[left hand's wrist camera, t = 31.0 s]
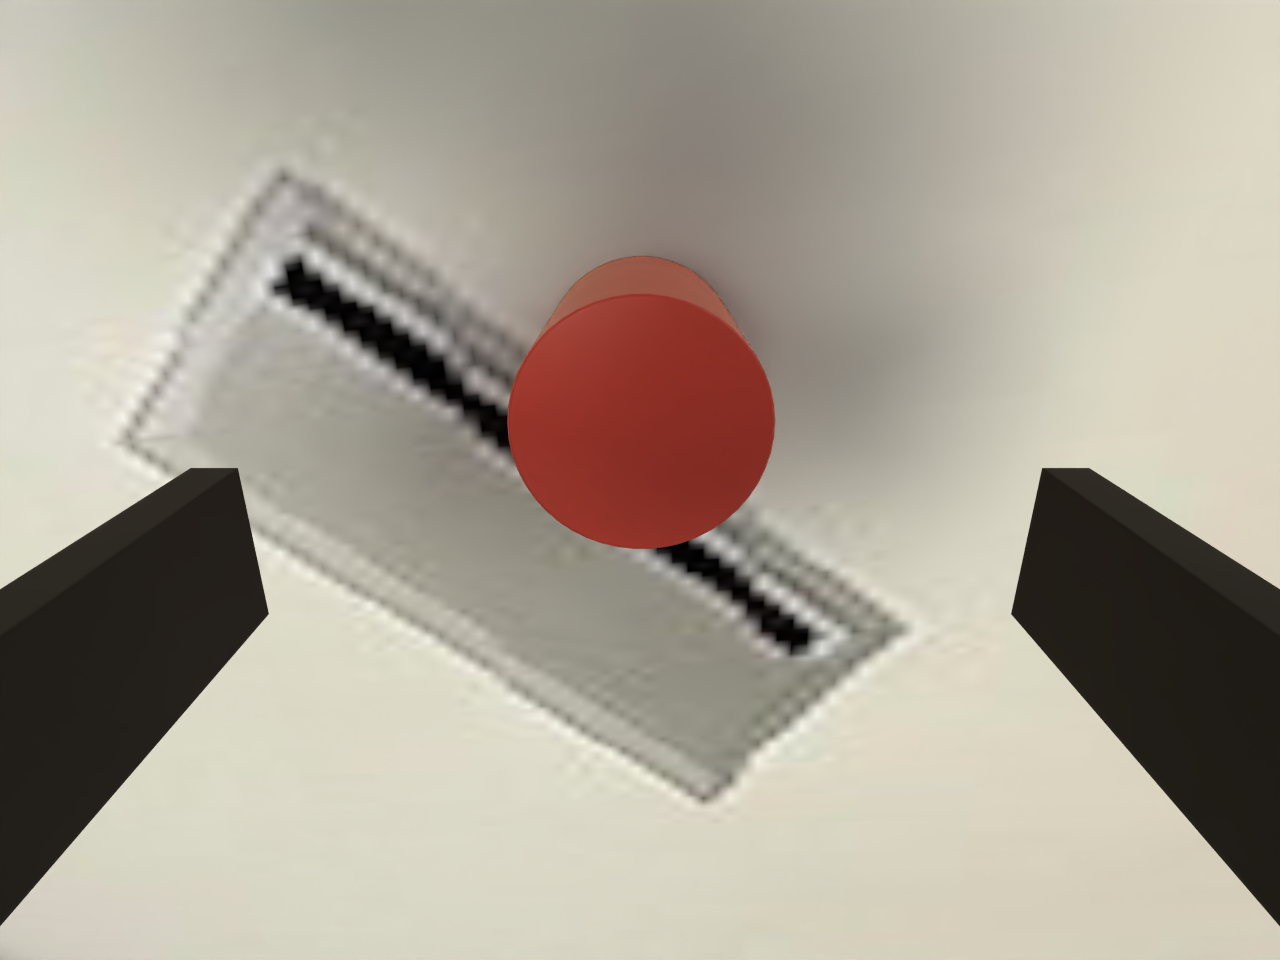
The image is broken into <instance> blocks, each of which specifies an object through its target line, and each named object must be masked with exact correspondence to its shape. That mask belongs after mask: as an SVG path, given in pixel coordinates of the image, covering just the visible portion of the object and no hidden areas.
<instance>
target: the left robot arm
mask: <svg viewBox="0 0 1280 960" xmlns="http://www.w3.org/2000/svg"><path fill="white" fill-rule="evenodd" d="M268 614H269V613H268V608H267V603H266V599H265V594H264V589H263V585H262V580H261V575H260V570H259V566H258V561H257V556H256V552H255V547H254V542H253V537H252V533H251V528H250V523H249V519H248V514H247V509H246V505H245V500H244V495H243V490H242V486H241V481H240V476H239V472H238V468H190V469H189V470H187V471H186V472H184V473H182V474H181V475H179V476H178V477H176V478H175V479H173V480H171V481H170V482H168V483H167V484H165V485H164V486H162V487H160V488H159V489H157V490H156V491H154V492H153V493H151V494H149V495H148V496H146V497H145V498H143V499H142V500H140V501H138V502H137V503H135V504H134V505H132V506H131V507H129V508H127V509H126V510H124V511H123V512H121V513H120V514H118V515H116V516H115V517H113V518H112V519H110V520H109V521H107V522H105V523H104V524H102V525H101V526H99V527H98V528H96V529H94V530H93V531H91V532H90V533H88V534H86V535H85V536H83V537H82V538H80V539H79V540H77V541H75V542H74V543H72V544H71V545H69V546H68V547H66V548H64V549H63V550H61V551H60V552H58V553H57V554H55V555H53V556H52V557H50V558H49V559H47V560H46V561H44V562H42V563H41V564H39V565H38V566H36V567H35V568H33V569H31V570H30V571H28V572H27V573H25V574H24V575H22V576H20V577H19V578H17V579H16V580H14V581H13V582H11V583H9V584H8V585H6V586H5V587H3V588H2V589H0V926H1V925H2V923H3V922H4V921H5V920H6V919H7V918H8V916H9V915H10V914H11V913H12V912H13V911H14V909H15V908H16V907H17V906H18V905H19V904H20V902H21V901H22V900H23V899H24V898H25V897H26V896H27V894H28V893H29V892H30V891H31V890H32V889H33V887H34V886H35V885H36V884H37V883H38V882H39V880H40V879H41V878H42V877H43V876H44V875H45V873H46V872H47V871H48V870H49V869H50V868H51V866H52V865H53V864H54V863H55V862H56V861H57V860H58V858H59V857H60V856H61V855H62V854H63V853H64V851H65V850H66V849H67V848H68V847H69V846H70V844H71V843H72V842H73V841H74V840H75V839H76V837H77V836H78V835H79V834H80V833H81V832H82V830H83V829H84V828H85V827H86V826H87V825H88V823H89V822H90V821H91V820H92V819H93V818H94V817H95V815H96V814H97V813H98V812H99V811H100V810H101V808H102V807H103V806H104V805H105V804H106V803H107V801H108V800H109V799H110V798H111V797H112V796H113V794H114V793H115V792H116V791H117V790H118V789H119V787H120V786H121V785H122V784H123V783H124V782H125V780H126V779H127V778H128V777H129V776H130V775H131V774H132V772H133V771H134V770H135V769H136V768H137V767H138V765H139V764H140V763H141V762H142V761H143V760H144V758H145V757H146V756H147V755H148V754H149V753H150V751H151V750H152V749H153V748H154V747H155V746H156V744H157V743H158V742H159V741H160V740H161V739H162V737H163V736H164V735H165V734H166V733H167V732H168V731H169V729H170V728H171V727H172V726H173V725H174V724H175V722H176V721H177V720H178V719H179V718H180V717H181V715H182V714H183V713H184V712H185V711H186V710H187V708H188V707H189V706H190V705H191V704H192V703H193V701H194V700H195V699H196V698H197V697H198V696H199V694H200V693H201V692H202V691H203V690H204V689H205V688H206V686H207V685H208V684H209V683H210V682H211V681H212V679H213V678H214V677H215V676H216V675H217V674H218V672H219V671H220V670H221V669H222V668H223V667H224V665H225V664H226V663H227V662H228V661H229V660H230V658H231V657H232V656H233V655H234V654H235V653H236V651H237V650H238V649H239V648H240V647H241V646H242V645H243V643H244V642H245V641H246V640H247V639H248V638H249V636H250V635H251V634H252V633H253V632H254V631H255V629H256V628H257V627H258V626H259V625H260V624H261V622H262V621H263V620H264V619H265V618H266V617H267V615H268ZM1011 614H1012V615H1013V617H1014V618H1015V619H1016V620H1017V621H1018V622H1019V624H1020V625H1021V626H1022V627H1023V628H1024V629H1025V631H1026V632H1027V633H1028V634H1029V635H1030V636H1031V638H1032V639H1033V640H1034V641H1035V642H1036V643H1037V645H1038V646H1039V647H1040V648H1041V649H1042V650H1043V651H1044V653H1045V654H1046V655H1047V656H1048V657H1049V658H1050V660H1051V661H1052V662H1053V663H1054V664H1055V665H1056V667H1057V668H1058V669H1059V670H1060V671H1061V672H1062V674H1063V675H1064V676H1065V677H1066V678H1067V679H1068V681H1069V682H1070V683H1071V684H1072V685H1073V686H1074V688H1075V689H1076V690H1077V691H1078V692H1079V693H1080V694H1081V696H1082V697H1083V698H1084V699H1085V700H1086V701H1087V703H1088V704H1089V705H1090V706H1091V707H1092V708H1093V710H1094V711H1095V712H1096V713H1097V714H1098V715H1099V717H1100V718H1101V719H1102V720H1103V721H1104V722H1105V724H1106V725H1107V726H1108V727H1109V728H1110V729H1111V731H1112V732H1113V733H1114V734H1115V735H1116V736H1117V737H1118V739H1119V740H1120V741H1121V742H1122V743H1123V744H1124V746H1125V747H1126V748H1127V749H1128V750H1129V751H1130V753H1131V754H1132V755H1133V756H1134V757H1135V758H1136V760H1137V761H1138V762H1139V763H1140V764H1141V765H1142V767H1143V768H1144V769H1145V770H1146V771H1147V772H1148V774H1149V775H1150V776H1151V777H1152V778H1153V779H1154V780H1155V782H1156V783H1157V784H1158V785H1159V786H1160V787H1161V789H1162V790H1163V791H1164V792H1165V793H1166V794H1167V796H1168V797H1169V798H1170V799H1171V800H1172V801H1173V803H1174V804H1175V805H1176V806H1177V807H1178V808H1179V810H1180V811H1181V812H1182V813H1183V814H1184V815H1185V817H1186V818H1187V819H1188V820H1189V821H1190V822H1191V823H1192V825H1193V826H1194V827H1195V828H1196V829H1197V830H1198V832H1199V833H1200V834H1201V835H1202V836H1203V837H1204V839H1205V840H1206V841H1207V842H1208V843H1209V844H1210V846H1211V847H1212V848H1213V849H1214V850H1215V851H1216V853H1217V854H1218V855H1219V856H1220V857H1221V858H1222V860H1223V861H1224V862H1225V863H1226V864H1227V865H1228V866H1229V868H1230V869H1231V870H1232V871H1233V872H1234V873H1235V875H1236V876H1237V877H1238V878H1239V879H1240V880H1241V882H1242V883H1243V884H1244V885H1245V886H1246V887H1247V889H1248V890H1249V891H1250V892H1251V893H1252V894H1253V896H1254V897H1255V898H1256V899H1257V900H1258V901H1259V902H1260V904H1261V905H1262V906H1263V907H1264V908H1265V909H1266V911H1267V912H1268V913H1269V914H1270V915H1271V916H1272V918H1273V919H1274V920H1275V921H1276V922H1277V923H1278V925H1279V926H1280V589H1278V588H1277V587H1275V586H1274V585H1272V584H1271V583H1269V582H1267V581H1266V580H1264V579H1263V578H1261V577H1260V576H1258V575H1256V574H1255V573H1253V572H1252V571H1250V570H1249V569H1247V568H1245V567H1244V566H1242V565H1241V564H1239V563H1238V562H1236V561H1234V560H1233V559H1231V558H1230V557H1228V556H1227V555H1225V554H1223V553H1222V552H1220V551H1219V550H1217V549H1216V548H1214V547H1212V546H1211V545H1209V544H1208V543H1206V542H1205V541H1203V540H1201V539H1200V538H1198V537H1197V536H1195V535H1194V534H1192V533H1190V532H1189V531H1187V530H1186V529H1184V528H1182V527H1181V526H1179V525H1178V524H1176V523H1175V522H1173V521H1171V520H1170V519H1168V518H1167V517H1165V516H1164V515H1162V514H1160V513H1159V512H1157V511H1156V510H1154V509H1153V508H1151V507H1149V506H1148V505H1146V504H1145V503H1143V502H1142V501H1140V500H1138V499H1137V498H1135V497H1134V496H1132V495H1131V494H1129V493H1127V492H1126V491H1124V490H1123V489H1121V488H1120V487H1118V486H1116V485H1115V484H1113V483H1112V482H1110V481H1109V480H1107V479H1105V478H1104V477H1102V476H1101V475H1099V474H1098V473H1096V472H1094V471H1093V470H1091V469H1090V468H1042V472H1041V476H1040V481H1039V486H1038V490H1037V495H1036V500H1035V505H1034V509H1033V514H1032V519H1031V523H1030V528H1029V533H1028V537H1027V542H1026V547H1025V552H1024V556H1023V561H1022V566H1021V570H1020V575H1019V580H1018V585H1017V589H1016V594H1015V599H1014V603H1013V608H1012V613H1011Z"/></svg>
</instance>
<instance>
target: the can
mask: <svg viewBox="0 0 1280 960" xmlns="http://www.w3.org/2000/svg"><path fill="white" fill-rule="evenodd" d="M507 423H508V435H509V442H510V447H511V451H512V456H513V458H514V461H515V464H516V467H517V469H518V472H519V474H520V475H521V477H522V479H523V481H524V483H525V485H526V486H527V488H528V489H529V491H530V492H531V494H532V495H533V496H534V498H535V499H536V500H537V501H538V502H539V504H540V505H541V506H542V507H543V508H544V509H545V510H546V511H547V512H548V513H549V514H550V515H552V516H553V517H554V518H555V519H556V520H557V521H559V522H560V523H562V524H563V525H565V526H566V527H568V528H569V529H571V530H572V531H574V532H576V533H578V534H580V535H582V536H584V537H586V538H589V539H592V540H594V541H597V542H600V543H603V544H607V545H612V546H616V547H623V548H632V549H651V548H659V547H667V546H671V545H675V544H679V543H683V542H686V541H688V540H691V539H694V538H696V537H698V536H700V535H702V534H704V533H706V532H708V531H710V530H712V529H713V528H715V527H716V526H718V525H719V524H721V523H722V522H724V521H725V520H726V519H728V518H729V517H730V516H731V515H732V514H733V513H734V512H735V511H737V510H738V509H739V508H740V506H741V505H742V504H743V503H744V502H745V501H746V500H747V498H748V497H749V496H750V495H751V493H752V492H753V490H754V489H755V487H756V486H757V484H758V482H759V480H760V478H761V477H762V475H763V473H764V471H765V468H766V466H767V463H768V460H769V457H770V454H771V450H772V445H773V440H774V430H775V412H774V402H773V397H772V393H771V388H770V385H769V382H768V379H767V377H766V374H765V371H764V369H763V367H762V366H761V364H760V362H759V360H758V358H757V356H756V354H755V353H754V351H753V350H752V348H751V347H750V345H749V344H748V342H747V340H746V339H745V337H744V336H743V334H742V333H741V331H740V329H739V328H738V326H737V325H736V323H735V322H734V320H733V319H732V317H731V315H730V314H729V312H728V311H727V309H726V308H725V306H724V304H723V303H722V301H721V300H720V298H719V297H718V296H717V294H716V293H715V291H714V290H713V289H712V288H711V287H710V286H709V285H708V284H707V283H706V282H705V281H704V280H703V279H702V278H701V277H699V276H698V275H697V274H696V273H694V272H693V271H691V270H689V269H687V268H686V267H684V266H682V265H680V264H677V263H675V262H672V261H669V260H665V259H662V258H656V257H648V256H634V257H627V258H621V259H617V260H614V261H610V262H608V263H605V264H603V265H601V266H599V267H597V268H595V269H594V270H592V271H590V272H589V273H587V274H586V275H585V276H583V277H582V278H581V279H580V280H578V281H577V282H576V283H575V284H574V285H573V287H572V288H571V289H570V290H569V291H568V292H567V294H566V295H565V297H564V298H563V299H562V301H561V302H560V304H559V305H558V307H557V309H556V310H555V312H554V313H553V315H552V316H551V318H550V320H549V321H548V323H547V324H546V326H545V327H544V329H543V330H542V332H541V334H540V335H539V337H538V338H537V340H536V341H535V343H534V345H533V346H532V348H531V349H530V351H529V352H528V354H527V355H526V357H525V359H524V361H523V363H522V365H521V367H520V369H519V371H518V373H517V375H516V378H515V381H514V384H513V387H512V390H511V395H510V400H509V405H508V422H507Z"/></svg>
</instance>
